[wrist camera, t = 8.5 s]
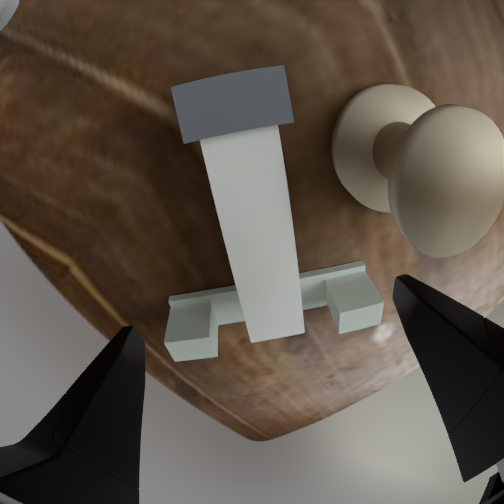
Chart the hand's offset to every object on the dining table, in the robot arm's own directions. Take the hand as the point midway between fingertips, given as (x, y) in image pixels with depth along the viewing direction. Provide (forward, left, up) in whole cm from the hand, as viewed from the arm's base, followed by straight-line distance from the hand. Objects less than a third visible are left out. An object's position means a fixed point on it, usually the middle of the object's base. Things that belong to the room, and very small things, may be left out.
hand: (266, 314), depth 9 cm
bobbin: (-2, +9, -9) cm, 13 cm away
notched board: (+7, 0, -9) cm, 12 cm away
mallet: (0, 0, -9) cm, 9 cm away
